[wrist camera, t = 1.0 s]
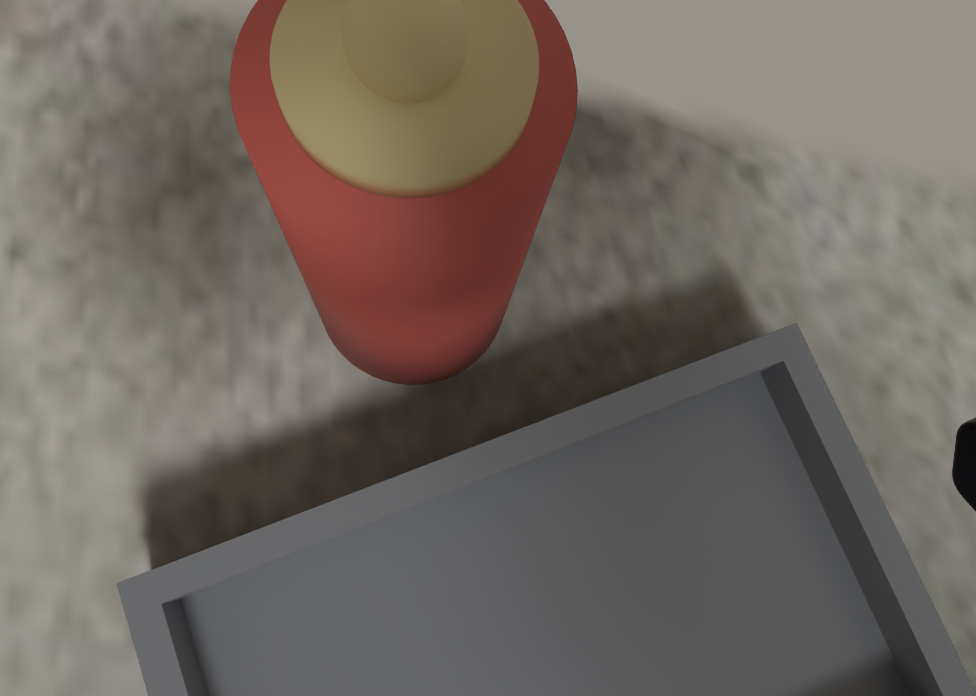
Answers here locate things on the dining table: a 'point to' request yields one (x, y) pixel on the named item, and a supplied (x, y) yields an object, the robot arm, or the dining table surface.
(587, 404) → the tray
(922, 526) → the dining table surface
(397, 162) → the pepper mill
